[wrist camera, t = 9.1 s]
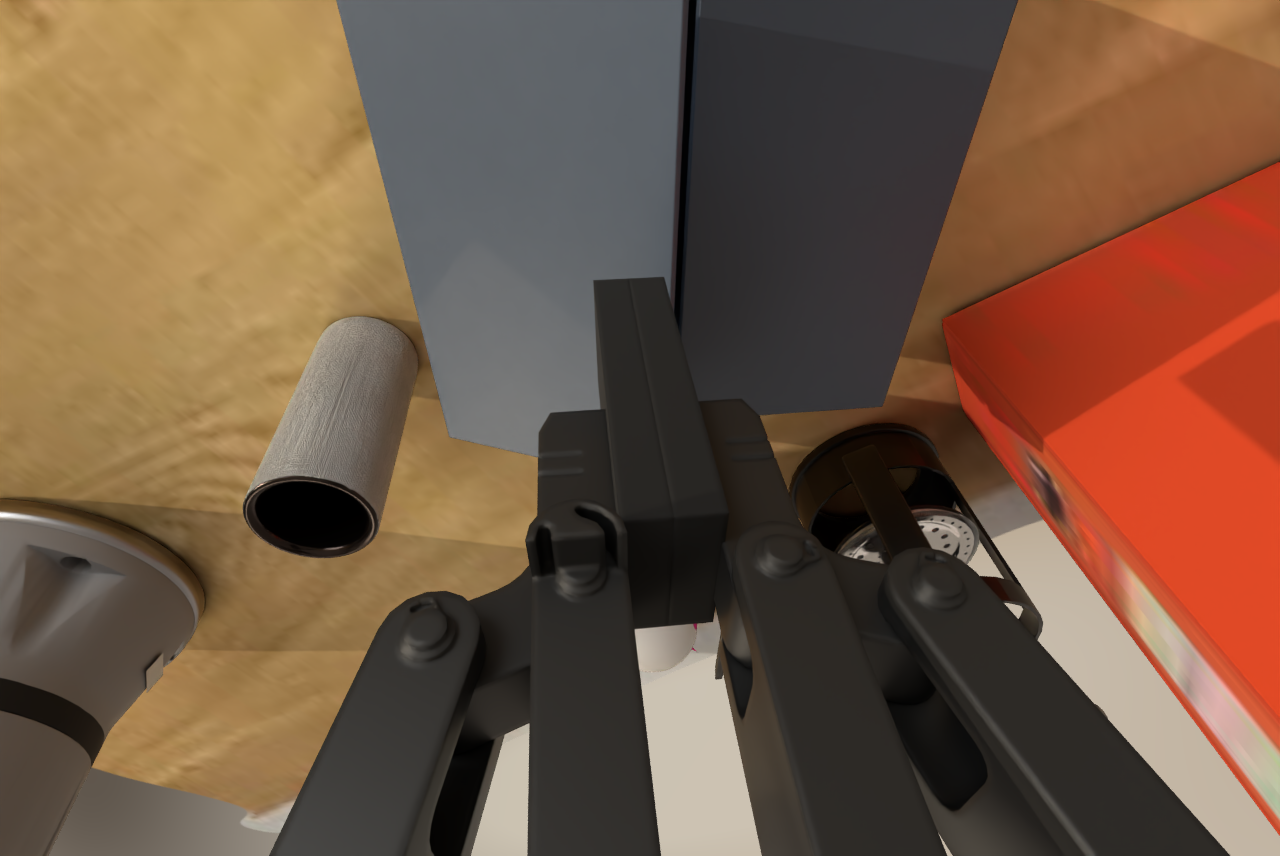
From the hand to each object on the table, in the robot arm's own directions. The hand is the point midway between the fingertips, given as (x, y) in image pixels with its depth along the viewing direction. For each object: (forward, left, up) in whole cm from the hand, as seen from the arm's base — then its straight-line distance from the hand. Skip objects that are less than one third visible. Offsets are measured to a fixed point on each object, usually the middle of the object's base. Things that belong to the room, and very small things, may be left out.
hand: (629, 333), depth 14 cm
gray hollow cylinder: (-11, -10, -15) cm, 21 cm away
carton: (+2, 0, -15) cm, 15 cm away
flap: (-2, 0, -3) cm, 4 cm away
